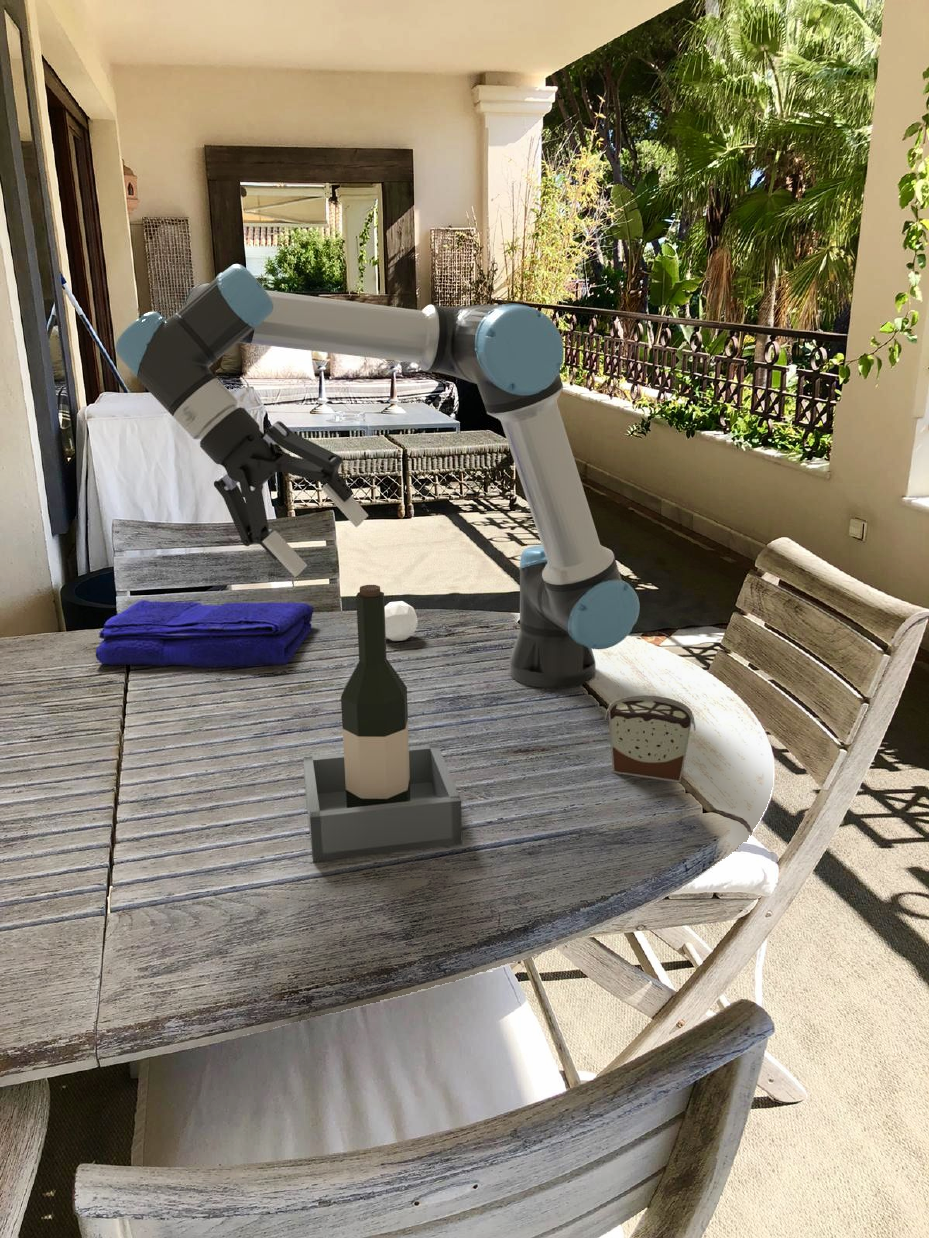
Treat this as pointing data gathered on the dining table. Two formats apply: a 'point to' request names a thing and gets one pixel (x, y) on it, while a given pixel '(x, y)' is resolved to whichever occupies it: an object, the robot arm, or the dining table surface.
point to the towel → (205, 634)
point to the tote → (381, 810)
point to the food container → (649, 736)
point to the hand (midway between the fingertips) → (331, 547)
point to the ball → (399, 621)
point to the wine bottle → (374, 715)
